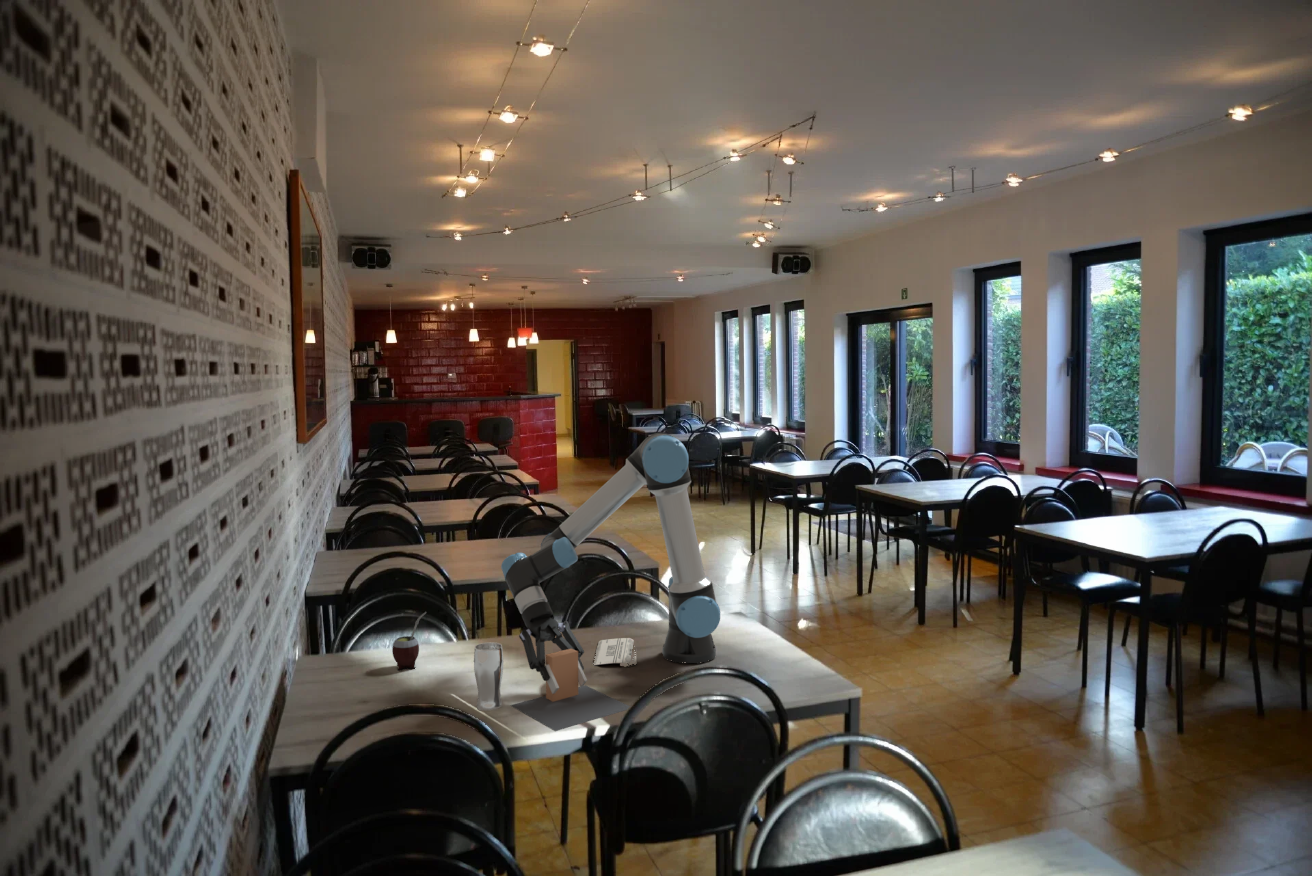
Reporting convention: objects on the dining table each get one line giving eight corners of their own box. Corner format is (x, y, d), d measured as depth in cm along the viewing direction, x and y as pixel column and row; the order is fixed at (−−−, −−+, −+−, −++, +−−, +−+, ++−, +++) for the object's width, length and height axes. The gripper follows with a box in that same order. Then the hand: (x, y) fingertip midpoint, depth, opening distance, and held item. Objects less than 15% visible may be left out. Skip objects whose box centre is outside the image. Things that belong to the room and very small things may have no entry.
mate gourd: (387, 669, 246) (385, 615, 245) (407, 661, 253) (406, 608, 252) (408, 673, 243) (406, 618, 242) (428, 665, 250) (427, 611, 249)
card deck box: (571, 691, 229) (571, 648, 228) (578, 694, 226) (578, 651, 225) (546, 698, 224) (545, 654, 223) (552, 701, 222) (552, 657, 221)
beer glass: (505, 701, 223) (504, 641, 222) (501, 712, 216) (501, 650, 215) (477, 702, 222) (476, 642, 221) (472, 712, 216) (471, 650, 214)
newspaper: (636, 669, 248) (635, 660, 248) (592, 673, 249) (591, 664, 248) (640, 643, 271) (639, 635, 271) (599, 647, 271) (598, 639, 271)
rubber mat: (585, 686, 233) (585, 685, 233) (633, 709, 218) (633, 707, 218) (510, 706, 219) (510, 705, 219) (555, 732, 204) (555, 731, 204)
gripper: (562, 609, 242) (597, 685, 231) (494, 623, 229) (528, 704, 218) (573, 594, 238) (610, 670, 226) (504, 607, 225) (539, 688, 214)
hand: (570, 686), depth 222 cm, fingers closed on card deck box, 7 cm apart
